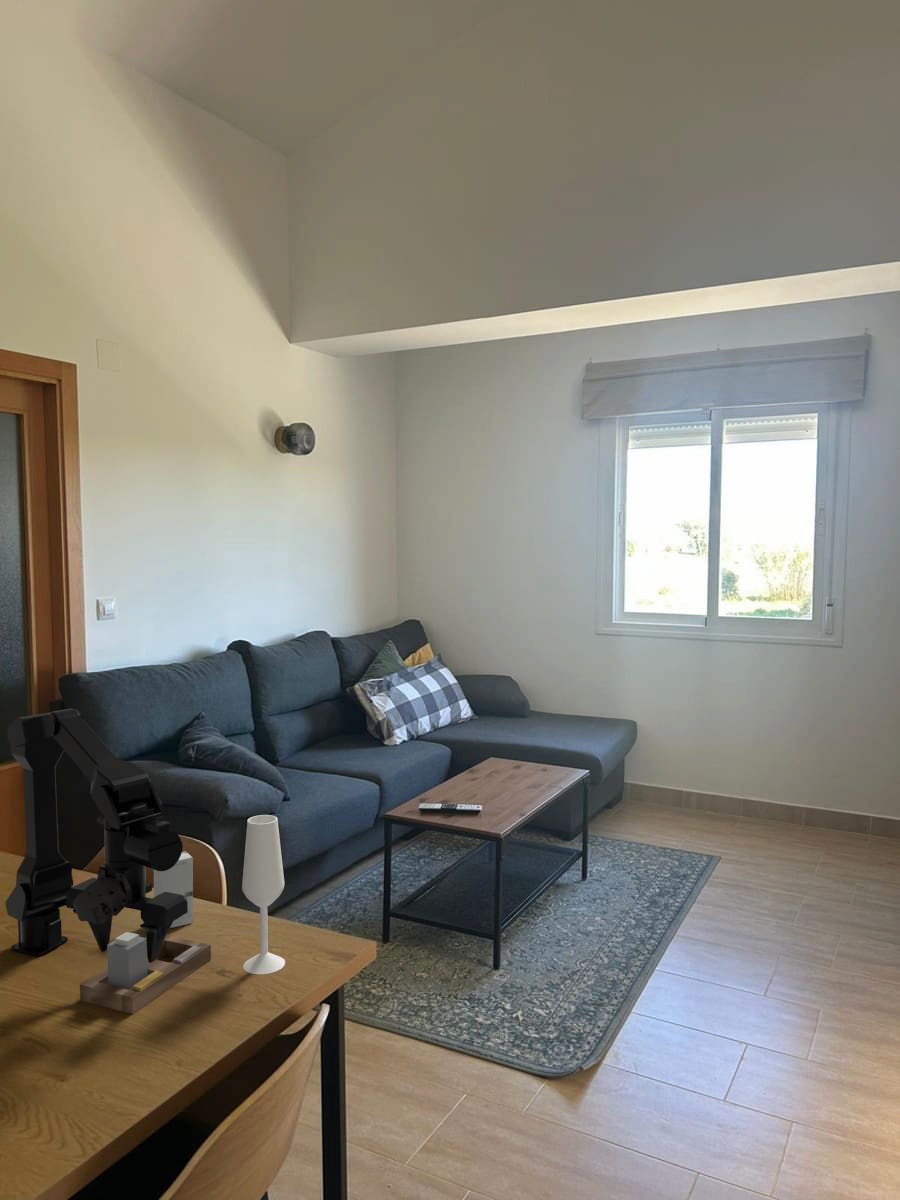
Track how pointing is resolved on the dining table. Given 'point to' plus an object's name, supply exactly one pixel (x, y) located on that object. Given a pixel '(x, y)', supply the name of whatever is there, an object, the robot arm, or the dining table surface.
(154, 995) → the brown wooden flat frame
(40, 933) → the robot arm
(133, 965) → the plug
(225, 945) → the dining table surface
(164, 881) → the skincare box
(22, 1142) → the dining table surface
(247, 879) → the champagne flute
